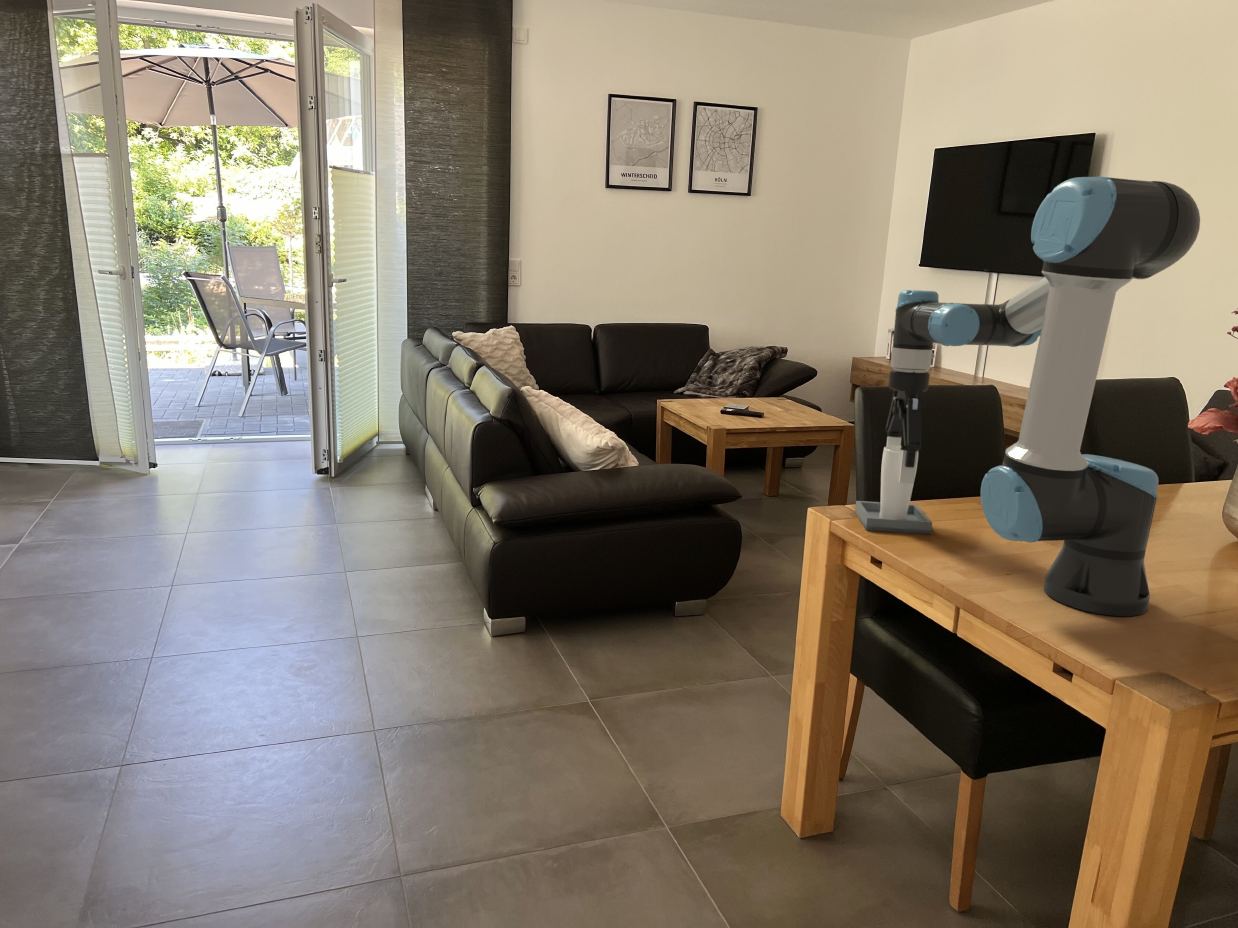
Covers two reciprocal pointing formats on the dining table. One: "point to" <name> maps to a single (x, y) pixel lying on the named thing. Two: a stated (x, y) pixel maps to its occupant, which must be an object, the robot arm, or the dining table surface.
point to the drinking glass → (894, 485)
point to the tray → (873, 522)
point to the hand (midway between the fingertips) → (898, 475)
